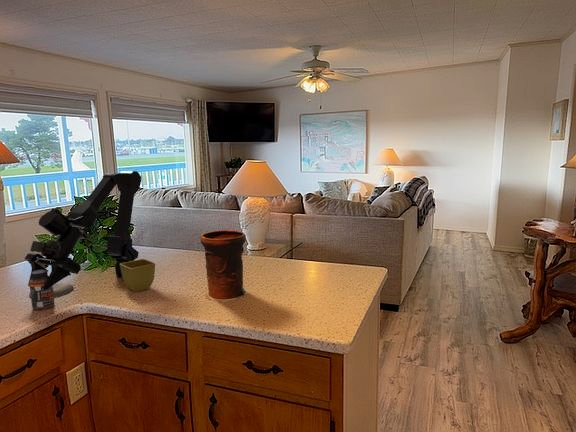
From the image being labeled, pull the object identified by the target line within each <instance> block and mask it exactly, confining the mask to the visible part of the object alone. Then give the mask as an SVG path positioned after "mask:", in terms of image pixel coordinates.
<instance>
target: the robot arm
mask: <svg viewBox="0 0 576 432" xmlns="http://www.w3.org/2000/svg"><path fill="white" fill-rule="evenodd" d="M141 183H142V176H141V174H140V172H138V171H137V170H122V171H119V172H118V173H115V172H114V173H113V172H110V173H109V172H107V173H104V174H103V176H102V179H101V180H100V181H99V183H97V185H96V186H95V187H94V189H93V191H91V192H90V194H89V195H88V197H87V198H86V199H85V200H84V202H82V203H80V204H79V205H77V206H75V207H74V208H73V209H72V210H71V211H70V212H69V213H68V214H66V215H64V214H63V213H62V212H61V211H60V210H59V209H58V208H51V210H50V211H47V212H45V213H44V214H43V215H41V216H40V218H39V220H38V225H39V226H40V227H42V229H44V230H45V231H47V232H48V233H50V234H51V235H52V236H54V237H55V236H56V237H57V238H56V239H55V240H50V239H48V240H47V241H46V242H44V241H37V240H33V241H32V243H31V247H30V250H29V251H30V252H29V253H27V254H26V256H25V257H24V260H25V261H26V262H28V263H29V264H30V267H31V270H30V275H29V276H30V277H29V279H28V284H27V286H28V287H29V288H30V285H29V282H30V280H31V279H32V272H34V271H37V270H47V273H49V270H48V269H47V268H48V267H49V266H50V269H51V271H50V273H49V275H48V276H49V277H48V279H47V280H46V282H45V284H44V287H43V289H44V290H47V289H48V288H50V287H51V286H53V285H54V284H58V283H59V282H60V281H62V280H64V279H65V278H66V277H68V276H71V275H72V274H73V275H74V274H75V275H78V274H79V272H81V269H82V267H81V264H80V263H78V262H77V261H76V260H74V259H72V258H71V257H70V255H74V254H75V253H76V250H74V249H75V248H76V246H77V244H78V242H79V241H80V239H82V240H83V239H84V240H88V235H87V233H86V230H82V229H84V228H85V229H87V228H89V229H90V228H91V227H93V225H94V224H95V222H96V221H97V218H98V214H99V213H98V212H99V210H100V208H101V206H102V205H103V203H104V202H105V201H106V199H107V198H108V197H109V196H110V194H111V193H112V191H113V190H114V188H115V187H117V189H118V192H119V199H118V204H117V205H118V207H117V215H116V222H115V229H114V231H113V233H112V235H108V236H107V243H106V244H105V245H106V246H105V247H106V249H107V251H106V252H107V253H108V254H109V255H110V257H111V260H114V259H115V262H114V269H115V271H114V272H115V275H116V276H117V278H123V277H122V272H121V268H120V264H121V263H125V262H130V261H135V260H137V259H138V257H139V253H140V252H138V251H139V250H136V249H135V248H134V247H133V239H132V236H131V234H130V229H131V223H132V222H131V221H132V214H133V206H134V200H135V199H134V198H135V195H136V194H137V192H139V190H140V187H141ZM80 228H82V229H80Z"/></svg>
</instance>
